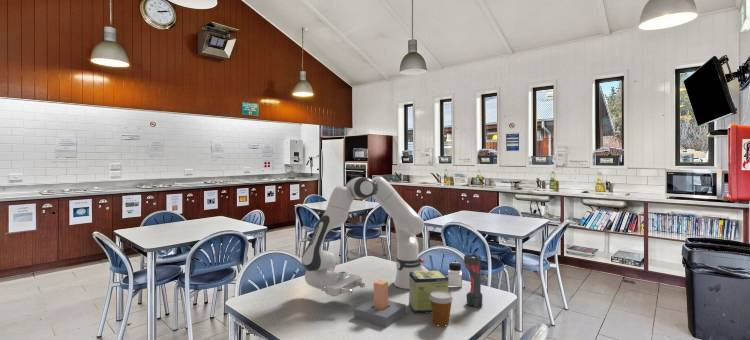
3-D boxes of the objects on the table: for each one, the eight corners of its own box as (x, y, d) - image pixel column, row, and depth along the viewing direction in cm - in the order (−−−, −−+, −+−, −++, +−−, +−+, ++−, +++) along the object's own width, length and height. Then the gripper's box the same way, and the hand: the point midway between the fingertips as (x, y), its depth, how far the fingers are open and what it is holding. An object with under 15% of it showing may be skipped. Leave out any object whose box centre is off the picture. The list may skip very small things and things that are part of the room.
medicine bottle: (461, 288, 195) (462, 265, 194) (447, 287, 196) (448, 264, 196) (461, 283, 202) (461, 261, 201) (448, 282, 203) (448, 260, 203)
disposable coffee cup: (426, 318, 158) (427, 290, 157) (448, 318, 158) (449, 290, 158) (432, 329, 148) (432, 299, 148) (455, 328, 149) (456, 298, 149)
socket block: (375, 305, 171) (375, 296, 171) (406, 313, 162) (406, 304, 162) (354, 317, 158) (354, 308, 158) (386, 327, 149) (386, 317, 149)
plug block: (379, 311, 163) (379, 279, 163) (387, 313, 161) (388, 281, 160) (373, 315, 160) (373, 282, 159) (382, 317, 157) (382, 284, 157)
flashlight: (461, 301, 177) (461, 253, 176) (477, 301, 178) (477, 253, 177) (466, 308, 169) (467, 257, 168) (483, 307, 170) (484, 257, 169)
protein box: (448, 312, 165) (449, 277, 164) (414, 314, 162) (414, 278, 162) (440, 303, 175) (441, 270, 174) (408, 304, 172) (408, 271, 172)
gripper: (318, 281, 165) (343, 288, 158) (347, 270, 182) (370, 275, 175) (318, 296, 166) (343, 303, 158) (347, 283, 183) (370, 289, 175)
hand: (357, 288), depth 167 cm, fingers open, 8 cm apart
